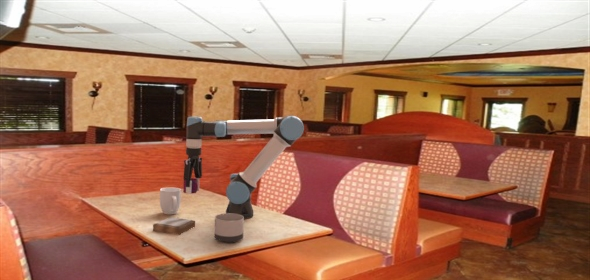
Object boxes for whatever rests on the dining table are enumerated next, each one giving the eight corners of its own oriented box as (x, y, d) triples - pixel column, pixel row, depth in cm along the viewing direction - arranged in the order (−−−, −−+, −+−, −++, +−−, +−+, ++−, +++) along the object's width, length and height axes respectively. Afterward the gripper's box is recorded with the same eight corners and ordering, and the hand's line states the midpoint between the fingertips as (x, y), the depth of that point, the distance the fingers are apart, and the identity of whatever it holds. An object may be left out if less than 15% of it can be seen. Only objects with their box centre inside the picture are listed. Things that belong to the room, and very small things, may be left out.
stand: (194, 226, 207) (195, 219, 207) (179, 234, 194) (179, 227, 194) (169, 223, 211) (169, 216, 211) (153, 230, 198) (153, 223, 197)
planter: (224, 233, 199) (224, 211, 198) (248, 238, 194) (249, 215, 193) (208, 241, 187) (209, 218, 186) (233, 246, 182) (234, 222, 181)
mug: (185, 216, 225) (186, 192, 224) (164, 218, 219) (165, 193, 218) (176, 209, 237) (177, 186, 236) (156, 211, 231) (157, 188, 230)
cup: (193, 190, 222) (194, 177, 221) (201, 194, 214) (202, 181, 213) (181, 191, 218) (181, 178, 217) (188, 195, 210) (189, 181, 209)
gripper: (197, 145, 225) (195, 187, 227) (176, 148, 206) (175, 194, 208) (209, 146, 223) (208, 189, 225) (190, 149, 204) (188, 196, 206)
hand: (192, 191), depth 217 cm, fingers closed on cup, 7 cm apart
